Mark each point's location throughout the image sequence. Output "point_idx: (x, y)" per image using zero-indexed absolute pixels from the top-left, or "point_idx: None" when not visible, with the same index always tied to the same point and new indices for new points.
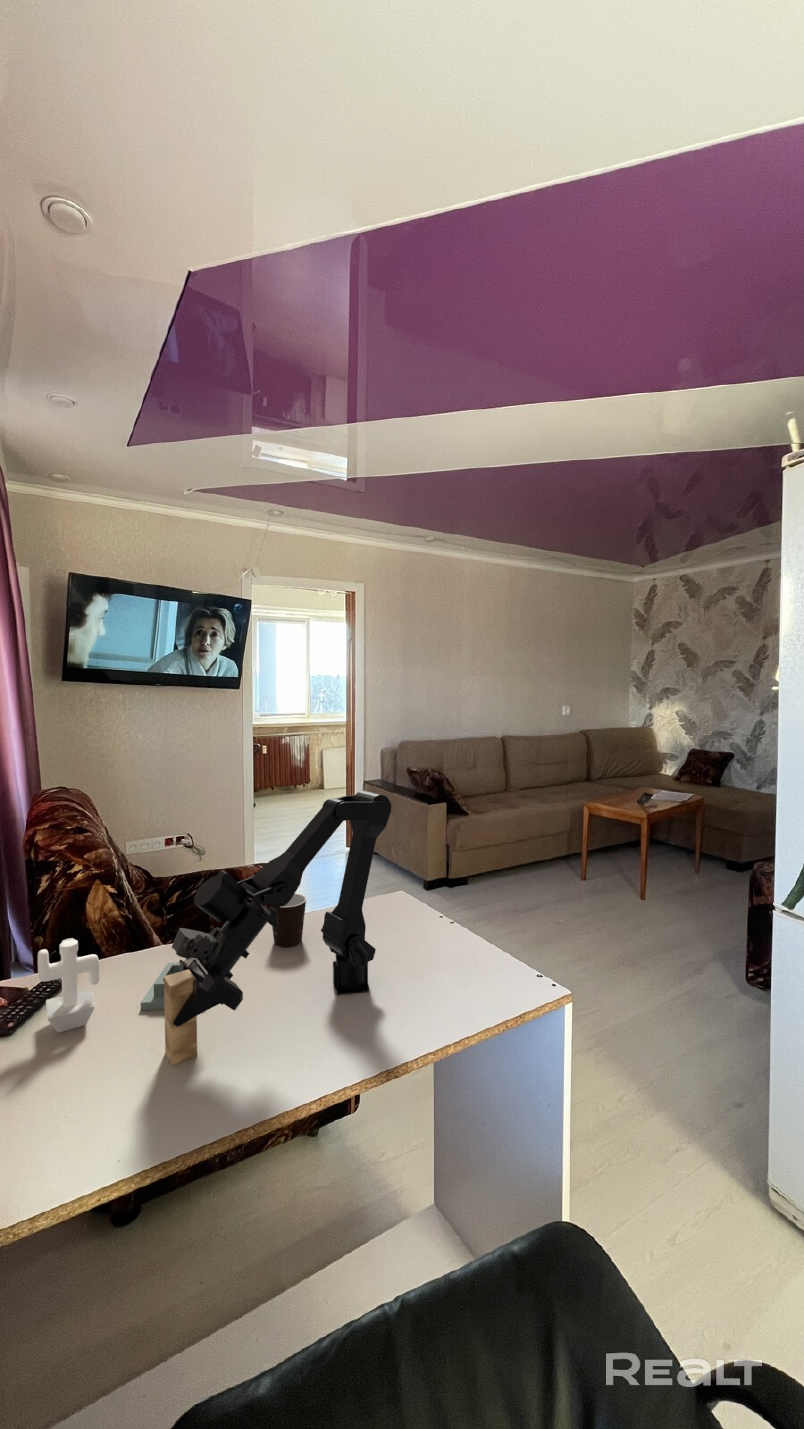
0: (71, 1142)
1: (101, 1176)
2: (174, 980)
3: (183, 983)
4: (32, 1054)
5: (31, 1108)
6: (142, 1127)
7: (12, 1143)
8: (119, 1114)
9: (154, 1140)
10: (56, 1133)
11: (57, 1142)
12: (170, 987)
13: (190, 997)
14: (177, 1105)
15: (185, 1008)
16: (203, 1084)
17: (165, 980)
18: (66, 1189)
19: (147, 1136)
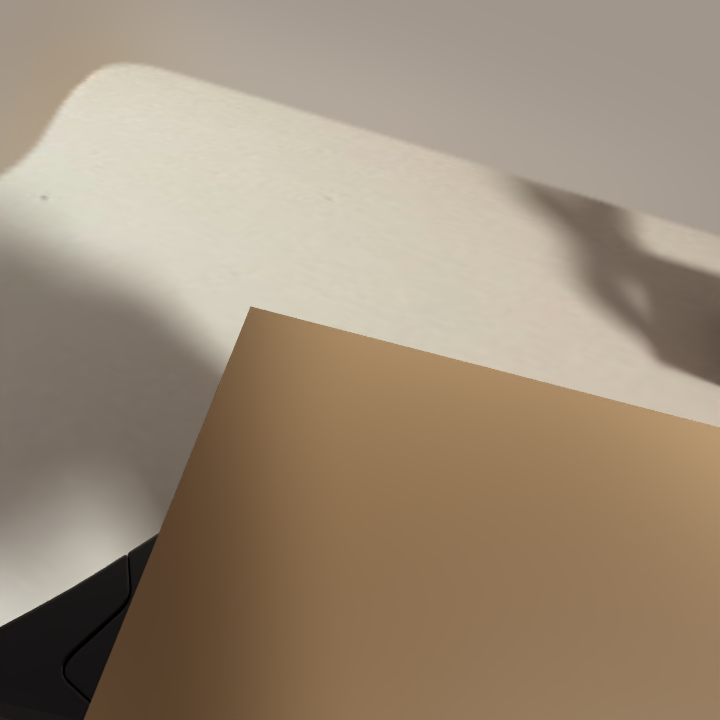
0: (222, 172)
1: (44, 159)
2: (439, 496)
3: (138, 593)
4: (651, 249)
5: (420, 174)
6: (92, 280)
7: (332, 121)
8: (209, 269)
9: (5, 274)
10: (284, 168)
11: (252, 158)
12: (249, 313)
13: (93, 642)
14: (62, 392)
15: (149, 540)
16: (55, 528)
17: (587, 406)
18: (91, 116)
19: (42, 271)
